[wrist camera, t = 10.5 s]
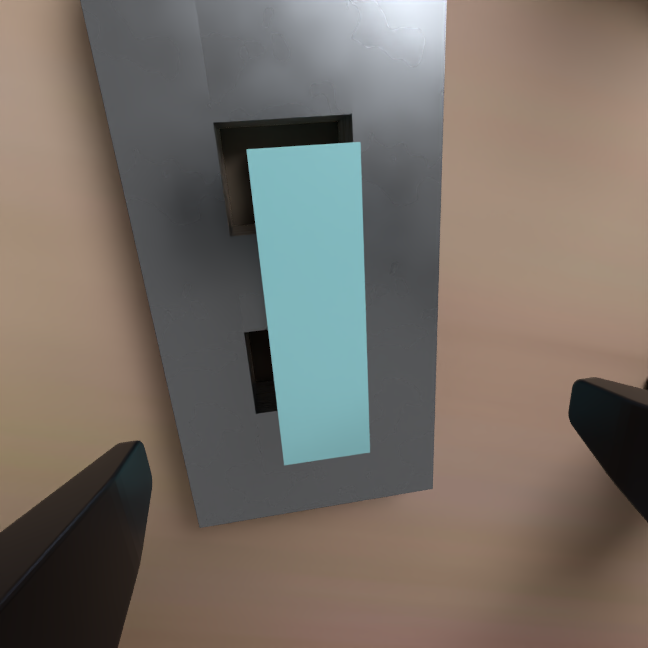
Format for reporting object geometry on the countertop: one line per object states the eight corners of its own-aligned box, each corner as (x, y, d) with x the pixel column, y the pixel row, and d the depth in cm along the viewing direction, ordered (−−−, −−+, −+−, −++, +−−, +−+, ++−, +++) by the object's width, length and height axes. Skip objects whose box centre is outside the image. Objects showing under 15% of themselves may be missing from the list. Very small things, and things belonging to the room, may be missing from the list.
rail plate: (417, -54, 17) (449, -98, 14) (413, 453, 25) (432, 488, 23) (94, -49, 15) (58, -95, 13) (206, 485, 24) (199, 527, 21)
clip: (318, 149, 19) (360, 141, 11) (331, 356, 22) (369, 452, 15) (249, 154, 18) (246, 149, 11) (274, 363, 22) (284, 465, 15)
